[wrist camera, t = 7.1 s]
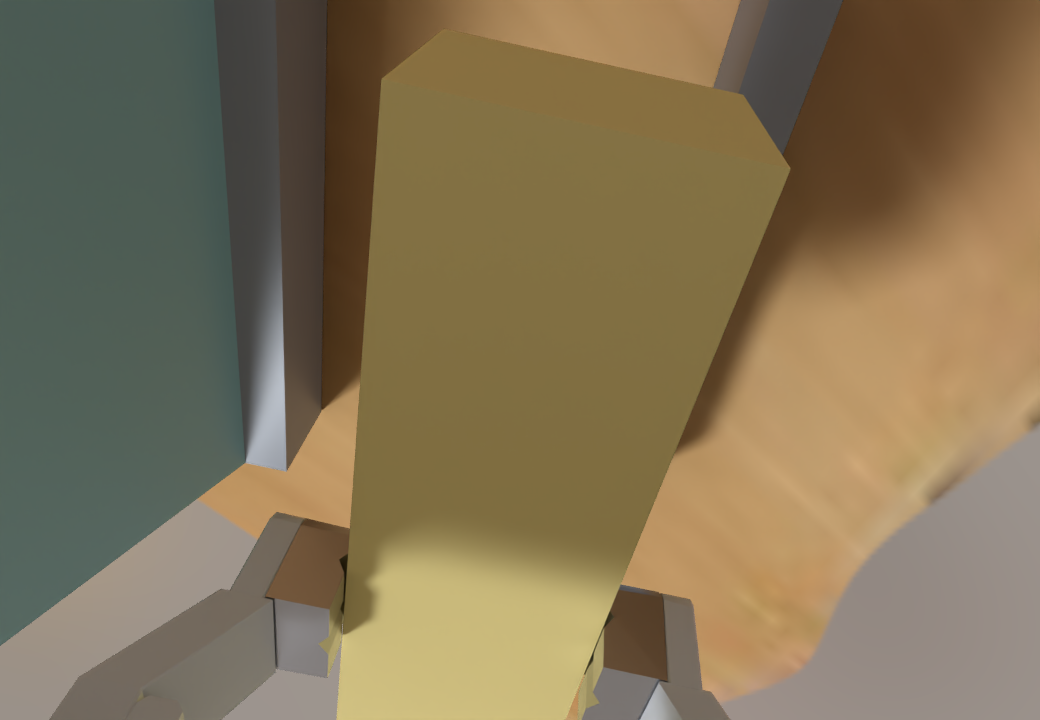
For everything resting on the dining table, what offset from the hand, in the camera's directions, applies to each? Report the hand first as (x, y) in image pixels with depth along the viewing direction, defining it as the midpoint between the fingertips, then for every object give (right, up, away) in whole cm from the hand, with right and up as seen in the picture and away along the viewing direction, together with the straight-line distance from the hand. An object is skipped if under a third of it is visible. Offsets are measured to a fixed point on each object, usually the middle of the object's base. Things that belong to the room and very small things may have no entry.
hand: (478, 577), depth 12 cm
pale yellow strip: (0, +1, +2) cm, 2 cm away
